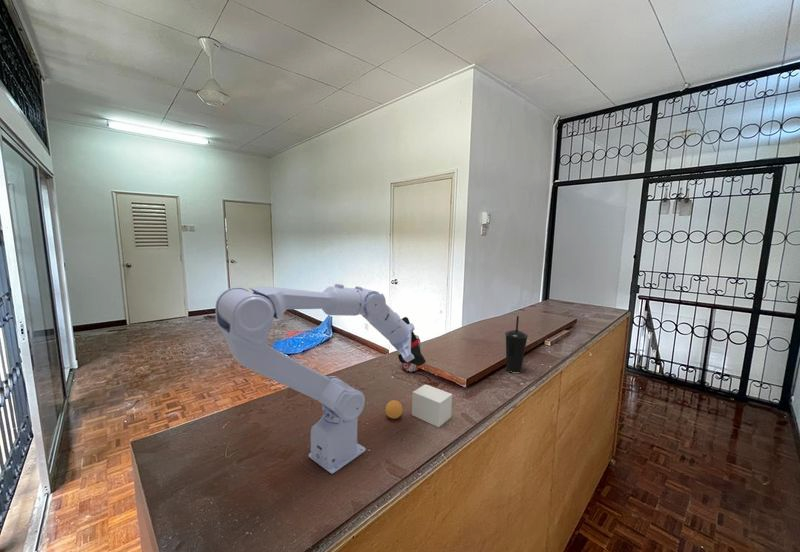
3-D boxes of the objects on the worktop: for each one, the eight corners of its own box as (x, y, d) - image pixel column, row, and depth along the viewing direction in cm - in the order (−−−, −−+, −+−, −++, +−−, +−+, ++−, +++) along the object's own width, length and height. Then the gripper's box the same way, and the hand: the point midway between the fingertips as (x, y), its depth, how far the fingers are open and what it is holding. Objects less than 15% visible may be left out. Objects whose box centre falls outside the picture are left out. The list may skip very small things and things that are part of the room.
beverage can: (418, 374, 110) (419, 340, 108) (400, 371, 111) (401, 338, 110) (420, 366, 116) (421, 334, 114) (403, 364, 117) (404, 333, 116)
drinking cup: (528, 375, 111) (533, 319, 108) (506, 375, 111) (510, 318, 108) (520, 366, 118) (524, 314, 116) (499, 366, 119) (503, 313, 116)
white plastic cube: (438, 427, 80) (439, 403, 79) (411, 414, 85) (412, 391, 84) (451, 417, 84) (452, 394, 83) (424, 405, 89) (425, 384, 89)
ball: (394, 424, 80) (395, 407, 80) (381, 417, 83) (382, 401, 82) (405, 416, 84) (406, 401, 83) (392, 410, 86) (393, 395, 86)
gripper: (411, 337, 69) (440, 365, 77) (396, 296, 80) (422, 324, 88) (384, 354, 70) (415, 380, 78) (373, 311, 81) (401, 337, 90)
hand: (417, 351), depth 83 cm, fingers open, 7 cm apart
